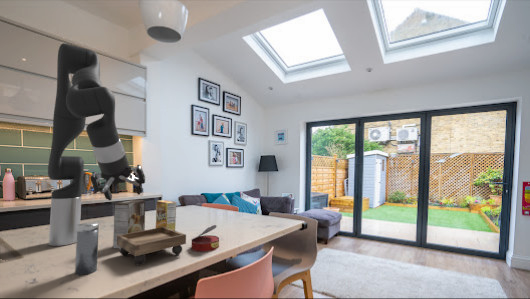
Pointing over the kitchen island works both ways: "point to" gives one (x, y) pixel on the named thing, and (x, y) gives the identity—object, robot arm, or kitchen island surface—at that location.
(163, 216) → the candy box
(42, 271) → the kitchen island surface
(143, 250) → the tray
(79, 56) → the robot arm
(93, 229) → the canister
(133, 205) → the coffee box
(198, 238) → the canned food
